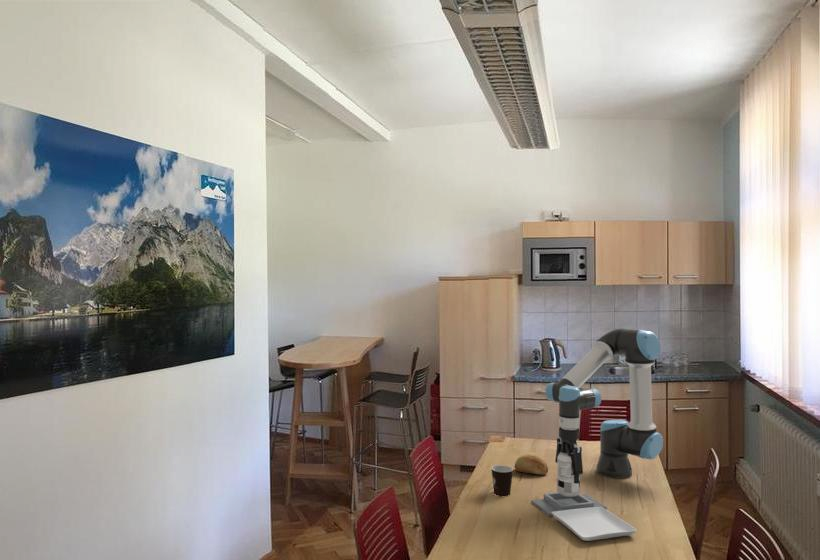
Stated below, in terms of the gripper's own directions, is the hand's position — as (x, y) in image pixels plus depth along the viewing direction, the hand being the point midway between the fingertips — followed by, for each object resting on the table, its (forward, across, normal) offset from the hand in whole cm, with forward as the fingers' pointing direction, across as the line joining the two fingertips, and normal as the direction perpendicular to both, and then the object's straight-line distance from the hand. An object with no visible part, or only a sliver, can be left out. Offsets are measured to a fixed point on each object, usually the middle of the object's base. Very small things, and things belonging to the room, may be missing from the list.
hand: (568, 487), depth 227 cm
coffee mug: (+7, -20, -18) cm, 28 cm away
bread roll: (+8, -38, +4) cm, 39 cm away
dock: (+7, 0, 0) cm, 7 cm away
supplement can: (+2, 0, 0) cm, 2 cm away
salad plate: (+8, +20, -3) cm, 22 cm away
